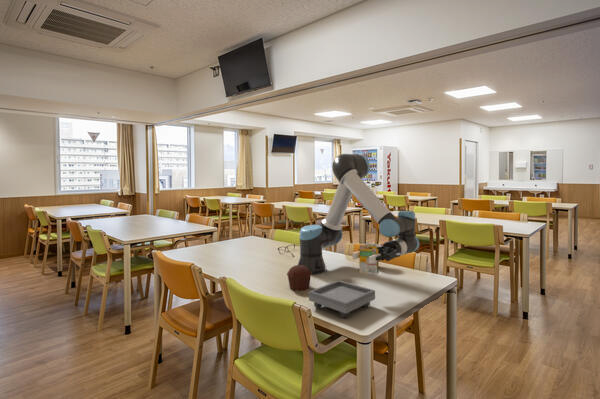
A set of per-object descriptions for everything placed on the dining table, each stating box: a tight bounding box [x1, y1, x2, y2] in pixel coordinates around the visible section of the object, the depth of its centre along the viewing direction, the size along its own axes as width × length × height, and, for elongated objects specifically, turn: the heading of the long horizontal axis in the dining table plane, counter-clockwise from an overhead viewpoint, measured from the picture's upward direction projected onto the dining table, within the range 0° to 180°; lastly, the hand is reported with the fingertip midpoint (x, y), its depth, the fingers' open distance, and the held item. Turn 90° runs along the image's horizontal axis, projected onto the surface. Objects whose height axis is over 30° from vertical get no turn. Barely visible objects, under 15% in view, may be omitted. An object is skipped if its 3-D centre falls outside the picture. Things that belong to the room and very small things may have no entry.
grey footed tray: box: [308, 280, 376, 319], centre depth 132 cm, size 18×18×6 cm
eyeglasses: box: [277, 244, 300, 258], centre depth 221 cm, size 16×16×4 cm
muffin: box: [286, 264, 313, 292], centre depth 155 cm, size 12×11×10 cm
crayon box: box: [358, 244, 379, 275], centre depth 140 cm, size 7×3×12 cm, turn 67°
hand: (361, 258), depth 136 cm, fingers closed on crayon box, 8 cm apart
